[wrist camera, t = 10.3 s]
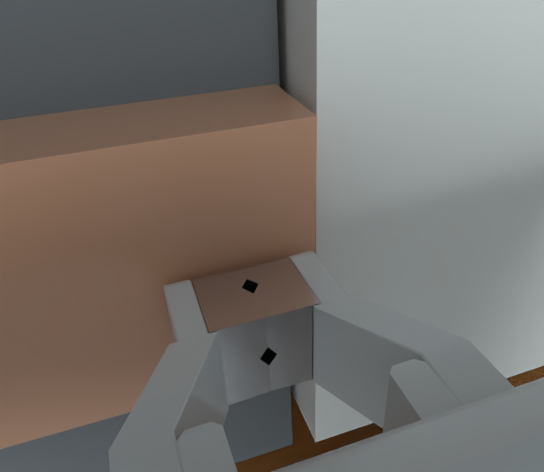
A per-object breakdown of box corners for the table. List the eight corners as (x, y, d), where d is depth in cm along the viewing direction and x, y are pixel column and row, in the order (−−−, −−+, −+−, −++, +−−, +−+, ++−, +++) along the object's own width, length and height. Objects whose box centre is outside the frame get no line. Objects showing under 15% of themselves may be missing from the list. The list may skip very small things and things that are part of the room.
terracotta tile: (275, 83, 10) (316, 115, 9) (282, 303, 14) (313, 360, 12) (-241, 152, 8) (-327, 214, 6) (-87, 396, 11) (-117, 482, 10)
